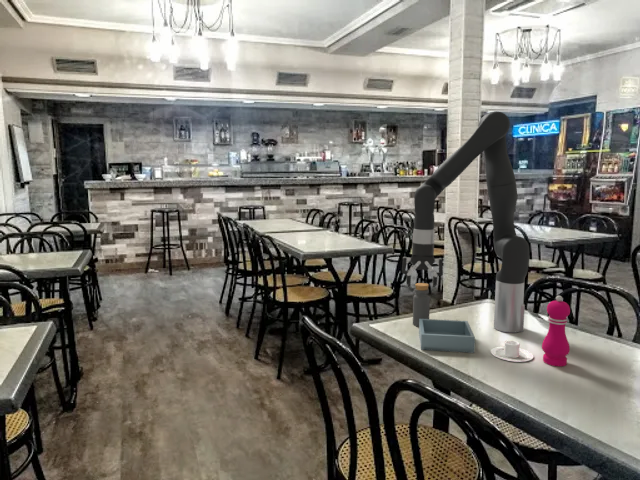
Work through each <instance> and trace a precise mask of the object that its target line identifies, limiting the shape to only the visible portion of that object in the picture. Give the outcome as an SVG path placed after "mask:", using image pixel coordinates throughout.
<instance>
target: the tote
mask: <svg viewBox="0 0 640 480" xmlns="http://www.w3.org/2000/svg"><path fill="white" fill-rule="evenodd" d="M418 334H419V335H418V336H419V344H420V350H421V351H435V352H436V351H437V352H439V351H440V352H453V353H472V354H474V353H475V344H476V343H475V341H476V338H475V337H476V336H475V335H474V332H473V330H472V327H471V326H470V323H469V321H468V320H457V319H456V320H455V319H437V318H436V319H435V318H434V319H433V318H432V319H430V318H429V319H419V327H418Z"/></svg>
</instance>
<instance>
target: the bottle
mask: <svg viewBox="0 0 640 480" xmlns="http://www.w3.org/2000/svg"><path fill="white" fill-rule="evenodd" d="M414 293H415V294H414V295H413V298H412V299H413V300H412V302H413V303H412V325H413V326H414V327H418V328H419V319H430V309H431V308H430V307H431V306H430V304H431V299H430V295H428V293H430V289H429V283H425V282H418V283H415V288H414Z"/></svg>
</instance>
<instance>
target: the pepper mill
mask: <svg viewBox="0 0 640 480" xmlns="http://www.w3.org/2000/svg"><path fill="white" fill-rule="evenodd" d="M546 312H547V314H548V317H547V318H548V319H547V321H548V323H549V325H548V331H547V333H546V335H545V336H544V339H543V341H542V343H541V344H542V345H541V349H542V352H543V355H542V361H543V362H544V363H545V364H546V365H549V366H553V367H565V366H566V365H567V364H568V358H567V355H569V353H570V351H571V350H570V343H569V341H568V337H567V336H566V335H567V333H566V325H567V324H568V316H569V315H570V314H571V308H570V305H569V304H568V303H567V302H565V301H563V296H561V295H557V296H556V297H555V300H552V301H549V303H548V304H547V306H546Z"/></svg>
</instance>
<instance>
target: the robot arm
mask: <svg viewBox="0 0 640 480" xmlns="http://www.w3.org/2000/svg"><path fill="white" fill-rule="evenodd" d="M510 126H511V122H510V119H509V117H508V115H507V114H506V113H504V112H501V111H498V110H497V111H490V112H489V113H486V114H484V115H483V116H482V117H481V118H480V120H479V121H478V125H477V128H476V130H474V132H473V134H472V135H471V136H470V137H469V138H468V139H467V140H466V141H465V142H464V143H463V144H462V145H461V146H460V147H459V148H457V150H455V151H454V152H453V153H452V154H450V156H448V157H447V158H445V160H444V161H443V162H442V163H441V164H440V165H439V166H438V167H437V168H436V169H435V171H433V173H432V175H431V176H430V177H429V178H427V179H426V180H425V181H424V182H423V183H421V185H420V186H418V187H417V188H416V190H415V192H414V197H413V198H414V199H413V200H414V218H413V231H412V240H411V241H412V244H411V250H412V251H411V257H407V256H403V257H402V267H401V273H402V274H403V275H405V276H406V285H408V287H411V283H412V282H411V281H412V280H411V279H412V278H411V277H412V276H411V275H412V274H413V273H414V272H415V270H418V271H421V270H422V271H427V270H429V271H430V273H431V274H432V283H431V285H432V288H435V287H436V286H437V285H438V277H439V276H443V275H444V268H443V267H444V265H443V261H444V260H443V258H442V257H439V258H435V257H434V254H435V204H436V202H435V201H436V199H437V198H438V196H440V194H442V192H443V191H444V190H445V189H446V188H447V187H449V186H450V185H451V184H452V183H453V182H454V181H456V179H458V177H460V175H461V174H463V172H464V171H466V169H467V168H468V167H469V165H471V164H472V162H474V161H475V160H476V159H477V158H478V157H479V156H480V155H481V154H482V153H484V154H483V155H484V161H485V163H484V164H485V166H484V167H485V179H486V180H485V181H486V189H487V194H488V195H487V196H488V200H489V201H488V202H489V208H490V213H491V219H492V220H491V221H492V227H493V228H492V229H493V248H494V252H495V254H496V256H497V257H498V258H499V259H501V267H500V270H498V271H497V272H496V275H495V293H494V295H495V296H494V312H493V313H494V314H493V329H495V330H497V331H499V332H504V333H519V332H522V333H523V332H524V328H525V327H524V325H525V323H524V322H525V310H526V307H525V306H526V304H525V303H524V297H525V296H524V295H525V280H526V279H525V278H526V276H527V274H528V271H529V263H530V262H529V261H530V245H529V243H528V241H527V240H526V239H525V238H523V237H521V236H517V232H516V228H515V221H514V220H515V219H514V217H515V211H516V208H517V207H516V206H517V203H518V188H517V180H516V176H515V173H514V169H513V166H512V163H511V161H510V158H509V155H508V150H507V149H508V148H507V137H506V136H507V133H508V132H509V129H510ZM409 262H411V264H412V265H411V266H410V268H409V269H408V270H406V269H407V264H409ZM435 263H436V265H438V271H436V270H435V269H434V267H433V265H434V264H435Z"/></svg>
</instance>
